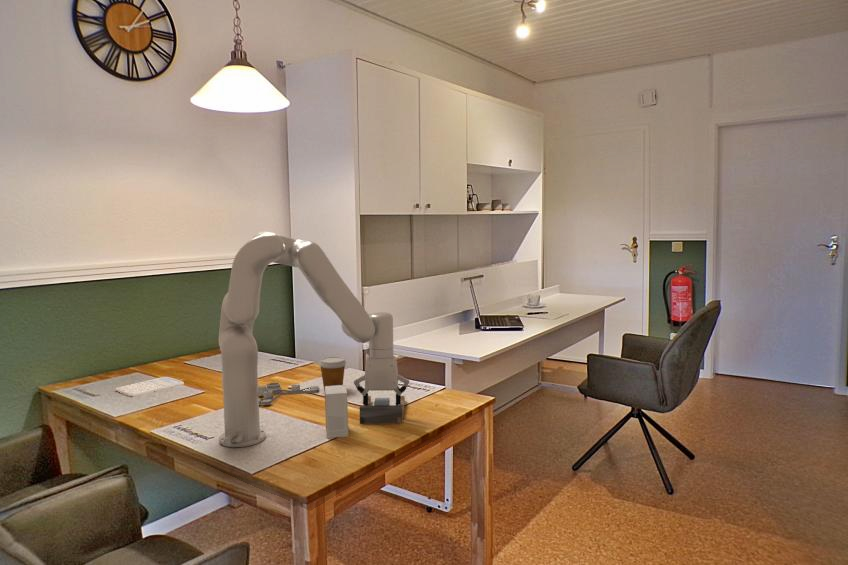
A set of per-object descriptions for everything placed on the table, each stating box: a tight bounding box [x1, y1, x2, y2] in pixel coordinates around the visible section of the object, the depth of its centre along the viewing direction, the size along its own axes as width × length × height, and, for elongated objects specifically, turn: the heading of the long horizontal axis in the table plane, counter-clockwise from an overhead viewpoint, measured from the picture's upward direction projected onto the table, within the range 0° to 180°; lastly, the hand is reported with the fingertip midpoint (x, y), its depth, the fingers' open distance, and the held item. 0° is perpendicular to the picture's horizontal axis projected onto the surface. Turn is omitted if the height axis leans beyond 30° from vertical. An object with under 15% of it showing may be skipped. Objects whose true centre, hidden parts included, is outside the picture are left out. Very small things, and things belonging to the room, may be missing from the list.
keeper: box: [373, 397, 390, 405], centre depth 182 cm, size 4×4×6 cm
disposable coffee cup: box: [318, 356, 347, 393], centre depth 209 cm, size 10×10×12 cm
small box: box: [324, 384, 349, 439], centre depth 170 cm, size 8×6×13 cm
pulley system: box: [258, 382, 320, 406], centre depth 206 cm, size 27×5×15 cm
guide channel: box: [359, 395, 406, 425], centre depth 188 cm, size 21×13×5 cm, turn 0°
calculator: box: [115, 376, 185, 397], centre depth 216 cm, size 13×20×2 cm, turn 142°
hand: (382, 406), depth 182 cm, fingers open, 9 cm apart
